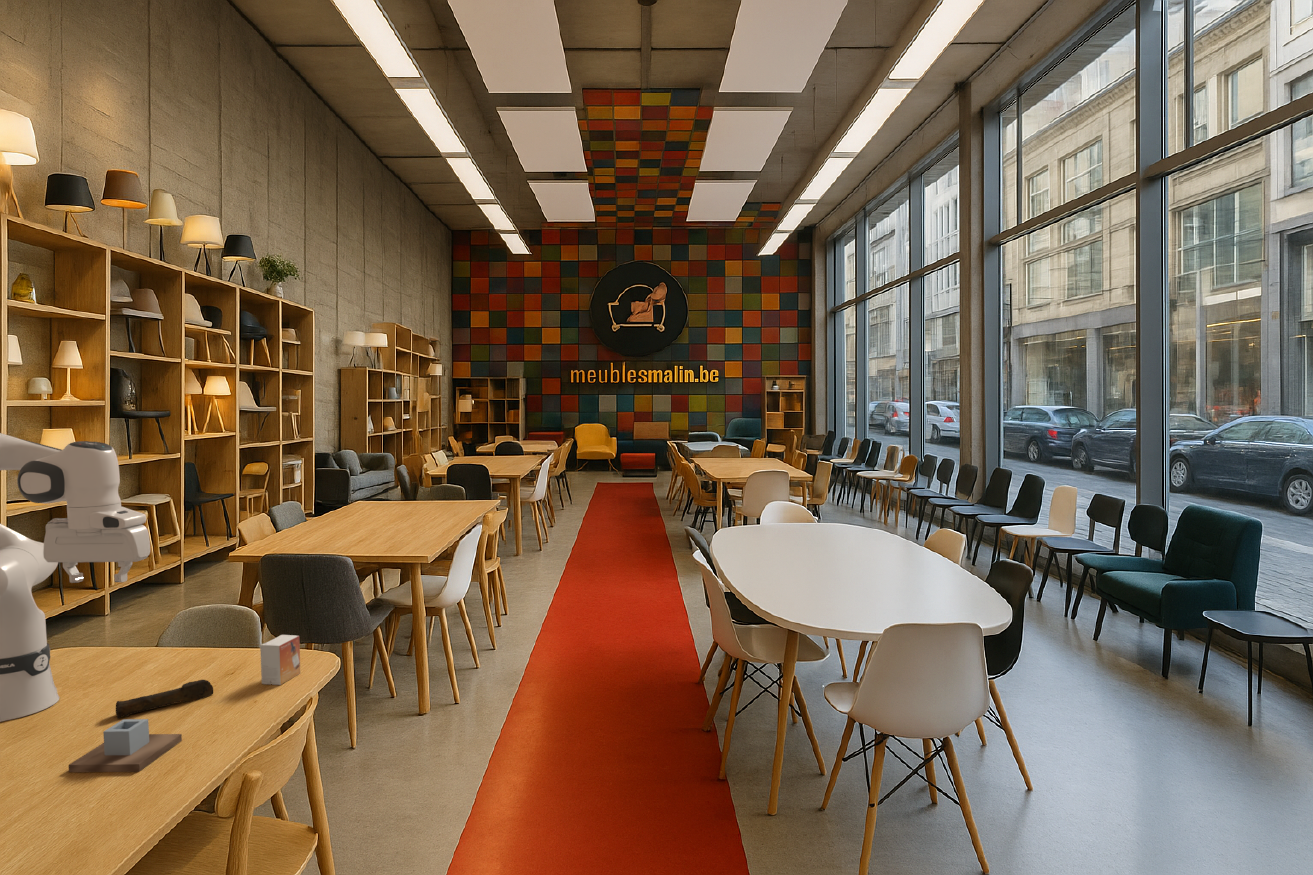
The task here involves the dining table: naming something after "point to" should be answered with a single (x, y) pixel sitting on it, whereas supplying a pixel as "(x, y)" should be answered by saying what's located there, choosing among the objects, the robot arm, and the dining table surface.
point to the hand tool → (165, 698)
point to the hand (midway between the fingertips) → (98, 581)
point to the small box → (280, 659)
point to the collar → (126, 737)
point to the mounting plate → (126, 756)
